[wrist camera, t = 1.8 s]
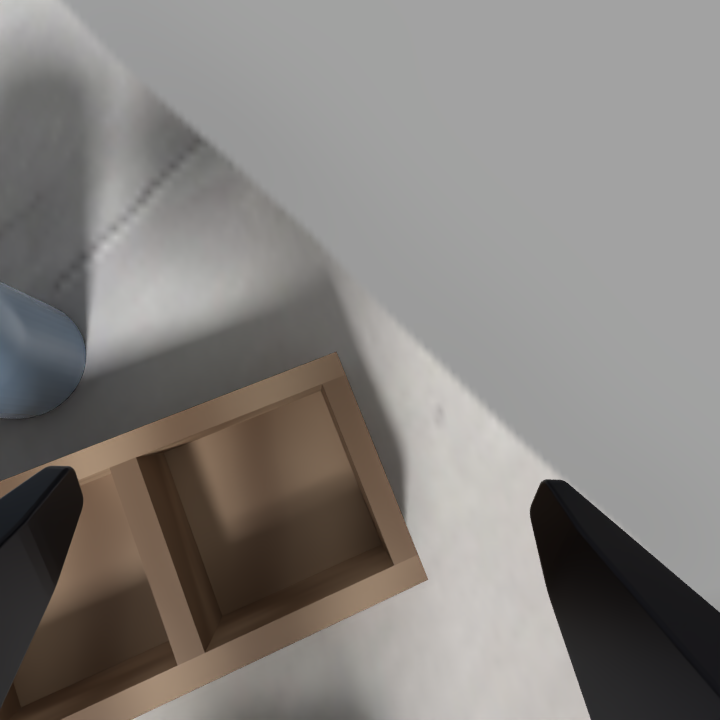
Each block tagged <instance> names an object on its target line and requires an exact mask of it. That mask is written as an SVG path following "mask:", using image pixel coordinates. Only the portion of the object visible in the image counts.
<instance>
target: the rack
mask: <svg viewBox="0 0 720 720" xmlns="http://www.w3.org/2000/svg"><path fill="white" fill-rule="evenodd" d="M47 466H70V467H72V468H73V469H74V470H75V472H76V475H77V478H78V481H79V484H80V487H81V491H82V494H83V508H82V511H81V514H80V517H79V520H78V523H77V526H76V529H75V532H74V535H73V538H72V541H71V544H70V547H69V550H68V553H67V556H66V559H65V562H64V565H63V568H62V571H61V574H60V577H59V580H58V582H57V585H56V588H55V590H54V593H53V595H52V597H51V600H50V602H49V604H48V606H47V608H46V611H45V613H44V615H43V617H42V619H41V622H40V624H39V626H38V628H37V630H36V632H35V635H34V637H33V639H32V641H31V643H30V645H29V648H28V650H27V652H26V654H25V656H24V659H23V661H22V663H21V665H20V667H19V669H18V672H17V674H16V676H15V678H14V680H13V683H12V685H11V687H10V689H9V691H8V693H7V696H6V698H5V700H4V702H3V704H2V706H1V709H0V720H131V719H134V718H136V717H138V716H140V715H142V714H144V713H146V712H148V711H151V710H153V709H155V708H157V707H159V706H161V705H163V704H165V703H167V702H170V701H172V700H174V699H176V698H178V697H180V696H182V695H184V694H187V693H189V692H191V691H193V690H195V689H197V688H199V687H201V686H204V685H206V684H208V683H210V682H212V681H214V680H216V679H218V678H220V677H223V676H225V675H227V674H229V673H231V672H233V671H235V670H237V669H240V668H242V667H244V666H246V665H248V664H250V663H252V662H254V661H257V660H259V659H261V658H263V657H265V656H267V655H269V654H271V653H273V652H276V651H278V650H280V649H282V648H284V647H286V646H288V645H290V644H293V643H295V642H297V641H299V640H301V639H303V638H305V637H307V636H310V635H312V634H314V633H316V632H318V631H320V630H322V629H324V628H326V627H329V626H331V625H333V624H335V623H337V622H339V621H341V620H343V619H346V618H348V617H350V616H352V615H354V614H356V613H358V612H360V611H363V610H365V609H367V608H369V607H371V606H373V605H375V604H377V603H379V602H382V601H384V600H386V599H388V598H390V597H392V596H394V595H396V594H399V593H401V592H403V591H405V590H407V589H409V588H411V587H413V586H416V585H418V584H420V583H422V582H424V581H426V580H428V578H427V576H426V573H425V571H424V568H423V566H422V563H421V561H420V558H419V556H418V553H417V551H416V548H415V546H414V543H413V541H412V538H411V536H410V533H409V531H408V528H407V526H406V523H405V521H404V518H403V516H402V513H401V511H400V509H399V506H398V504H397V501H396V499H395V496H394V494H393V491H392V489H391V486H390V484H389V481H388V479H387V476H386V474H385V471H384V469H383V466H382V464H381V461H380V459H379V456H378V454H377V451H376V449H375V446H374V444H373V441H372V439H371V436H370V434H369V431H368V429H367V427H366V424H365V422H364V419H363V417H362V414H361V412H360V409H359V407H358V404H357V402H356V399H355V397H354V394H353V392H352V389H351V387H350V384H349V382H348V379H347V377H346V374H345V372H344V369H343V367H342V364H341V362H340V359H339V357H338V354H337V352H334V353H332V354H329V355H327V356H324V357H321V358H319V359H316V360H314V361H311V362H308V363H306V364H303V365H301V366H298V367H295V368H293V369H290V370H288V371H285V372H282V373H280V374H277V375H275V376H272V377H269V378H267V379H264V380H262V381H259V382H256V383H254V384H251V385H249V386H246V387H243V388H241V389H238V390H236V391H233V392H230V393H228V394H225V395H223V396H220V397H217V398H215V399H212V400H210V401H207V402H205V403H202V404H199V405H197V406H194V407H192V408H189V409H186V410H184V411H181V412H179V413H176V414H173V415H171V416H168V417H166V418H163V419H160V420H158V421H155V422H153V423H150V424H147V425H145V426H142V427H140V428H137V429H134V430H132V431H129V432H127V433H124V434H121V435H119V436H116V437H114V438H111V439H108V440H106V441H103V442H101V443H98V444H95V445H93V446H90V447H88V448H85V449H83V450H80V451H77V452H75V453H72V454H70V455H67V456H64V457H62V458H59V459H57V460H54V461H51V462H49V463H46V464H44V465H41V466H38V467H36V468H33V469H31V470H28V471H25V472H23V473H20V474H18V475H15V476H12V477H10V478H7V479H5V480H2V481H0V498H2V497H3V496H4V495H6V494H7V493H9V492H10V491H12V490H13V489H15V488H16V487H17V486H19V485H20V484H22V483H23V482H25V481H26V480H27V479H29V478H30V477H32V476H33V475H35V474H36V473H38V472H39V471H40V470H42V469H43V468H45V467H47Z"/></svg>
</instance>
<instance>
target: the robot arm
mask: <svg viewBox="0 0 720 720" xmlns="http://www.w3.org/2000/svg"><path fill="white" fill-rule="evenodd" d="M82 508H83V494H82V491H81V487H80V484H79V481H78V478H77V475H76V472H75V470H74V469H73V468H72V467H70V466H47V467H45V468H43V469H42V470H40V471H39V472H38V473H36V474H35V475H33V476H32V477H30V478H29V479H27V480H26V481H25V482H23V483H22V484H20V485H19V486H17V487H16V488H15V489H13V490H12V491H10V492H9V493H7V494H6V495H4V496H3V497H2V498H0V709H1V706H2V704H3V702H4V700H5V698H6V696H7V693H8V691H9V689H10V687H11V685H12V683H13V680H14V678H15V676H16V674H17V672H18V669H19V667H20V665H21V663H22V661H23V659H24V656H25V654H26V652H27V650H28V648H29V645H30V643H31V641H32V639H33V637H34V635H35V632H36V630H37V628H38V626H39V624H40V622H41V619H42V617H43V615H44V613H45V611H46V608H47V606H48V604H49V602H50V600H51V597H52V595H53V593H54V590H55V588H56V585H57V582H58V580H59V577H60V574H61V571H62V568H63V565H64V562H65V559H66V556H67V553H68V550H69V547H70V544H71V541H72V538H73V535H74V532H75V529H76V526H77V523H78V520H79V517H80V514H81V511H82ZM530 518H531V523H532V527H533V531H534V536H535V540H536V545H537V549H538V553H539V558H540V562H541V567H542V571H543V575H544V580H545V584H546V587H547V591H548V594H549V598H550V601H551V604H552V607H553V610H554V613H555V616H556V619H557V621H558V624H559V627H560V630H561V633H562V636H563V639H564V642H565V645H566V648H567V651H568V654H569V657H570V660H571V663H572V665H573V668H574V671H575V674H576V677H577V680H578V683H579V686H580V689H581V692H582V695H583V698H584V701H585V704H586V706H587V709H588V712H589V715H590V718H591V720H720V612H719V611H717V610H716V609H715V608H714V607H713V606H711V605H710V604H709V603H708V602H707V601H706V600H704V599H703V598H702V597H701V596H700V595H698V594H697V593H696V592H695V591H694V590H693V589H691V588H690V587H689V586H688V585H687V584H686V583H684V582H683V581H682V580H681V579H680V578H679V577H677V576H676V575H675V574H674V573H673V572H671V571H670V570H669V569H668V568H667V567H666V566H664V565H663V564H662V563H661V562H660V561H659V560H657V559H656V558H655V557H654V556H653V555H651V554H650V553H649V552H648V551H647V550H646V549H644V548H643V547H642V546H641V545H640V544H639V543H637V542H636V541H635V540H634V539H633V538H631V537H630V536H629V535H628V534H627V533H626V532H624V531H623V530H622V529H621V528H620V527H619V526H617V525H616V524H615V523H614V522H613V521H611V520H610V519H609V518H608V517H607V516H606V515H604V514H603V513H602V512H601V511H600V510H599V509H597V508H596V507H595V506H594V505H593V504H591V503H590V502H589V501H588V500H587V499H586V498H584V497H583V496H582V495H581V494H580V493H579V492H577V491H576V490H575V489H574V488H573V487H571V486H570V485H569V484H568V483H567V482H565V481H563V480H548V479H546V480H543V481H542V482H541V483H540V485H539V488H538V490H537V492H536V495H535V497H534V500H533V502H532V504H531V508H530Z"/></svg>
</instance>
